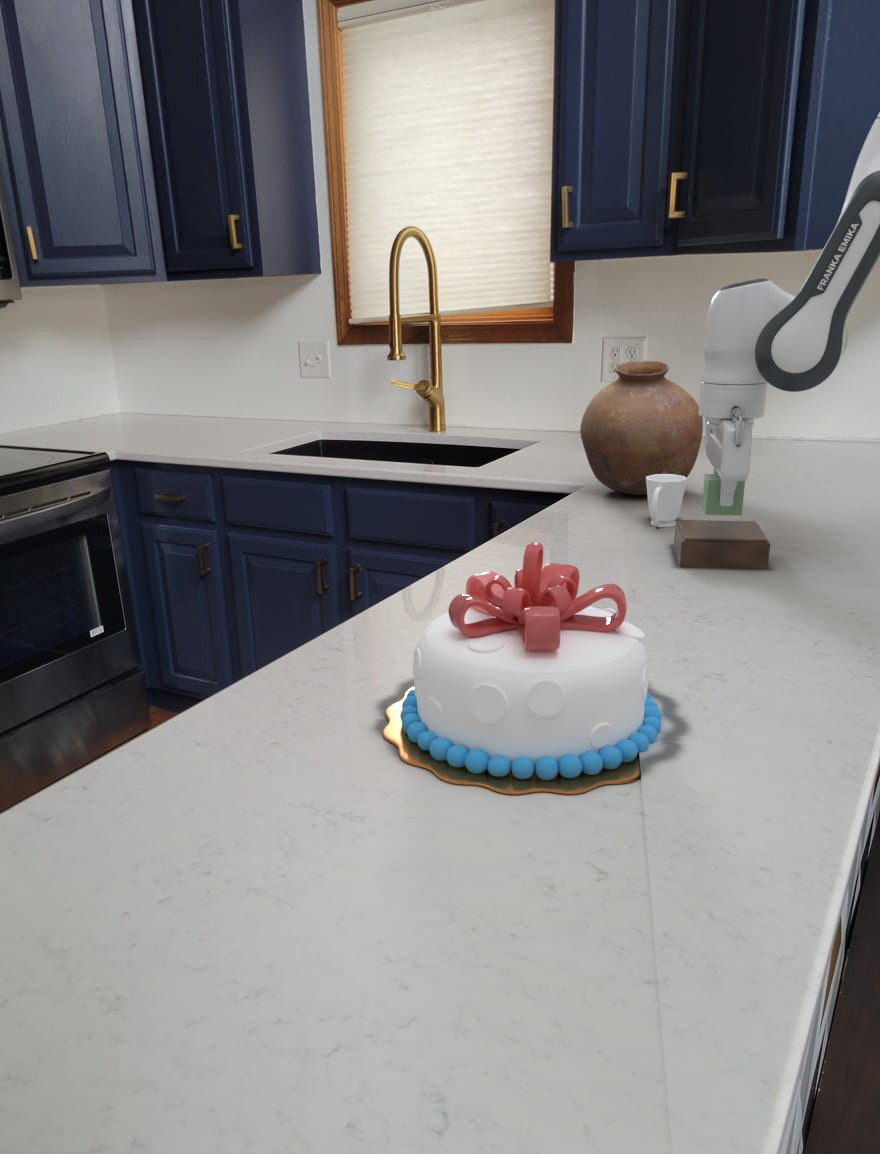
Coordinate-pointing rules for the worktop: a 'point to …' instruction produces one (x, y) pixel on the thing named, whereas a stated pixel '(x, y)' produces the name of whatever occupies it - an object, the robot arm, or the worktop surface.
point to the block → (712, 497)
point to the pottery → (641, 428)
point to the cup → (665, 498)
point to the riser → (721, 544)
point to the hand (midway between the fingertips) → (722, 500)
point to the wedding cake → (528, 687)
